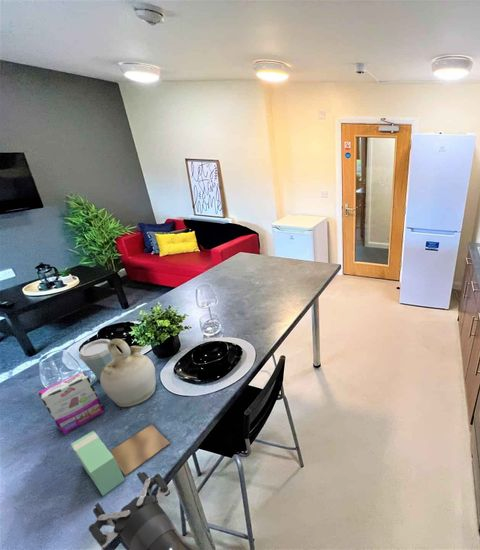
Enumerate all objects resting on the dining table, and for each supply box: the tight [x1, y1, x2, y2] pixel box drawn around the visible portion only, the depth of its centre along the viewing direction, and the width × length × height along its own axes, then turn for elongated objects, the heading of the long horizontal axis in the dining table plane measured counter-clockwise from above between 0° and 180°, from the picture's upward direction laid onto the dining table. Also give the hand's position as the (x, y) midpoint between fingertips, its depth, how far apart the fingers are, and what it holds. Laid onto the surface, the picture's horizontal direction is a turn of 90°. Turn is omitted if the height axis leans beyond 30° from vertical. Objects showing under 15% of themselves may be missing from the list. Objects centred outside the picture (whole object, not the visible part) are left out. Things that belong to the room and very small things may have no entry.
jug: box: [99, 338, 157, 408], centre depth 104 cm, size 15×16×25 cm
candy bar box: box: [37, 370, 106, 436], centre depth 95 cm, size 11×5×16 cm, turn 147°
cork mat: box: [109, 424, 171, 477], centre depth 90 cm, size 12×12×1 cm
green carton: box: [70, 430, 126, 497], centre depth 81 cm, size 5×14×10 cm, turn 58°
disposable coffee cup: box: [78, 338, 115, 381], centre depth 113 cm, size 11×11×15 cm
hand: (119, 489), depth 72 cm, fingers open, 8 cm apart
